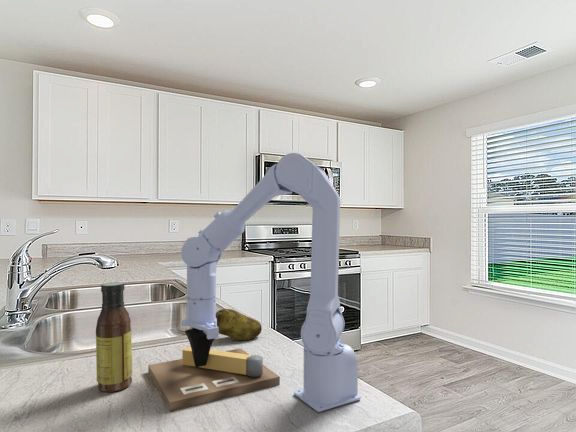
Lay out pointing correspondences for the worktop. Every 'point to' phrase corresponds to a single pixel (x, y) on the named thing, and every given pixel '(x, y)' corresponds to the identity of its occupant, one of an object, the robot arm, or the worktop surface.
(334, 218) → the robot arm
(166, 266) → the worktop surface
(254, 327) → the potato
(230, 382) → the label board
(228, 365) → the swing bar
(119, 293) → the sauce bottle
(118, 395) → the worktop surface
